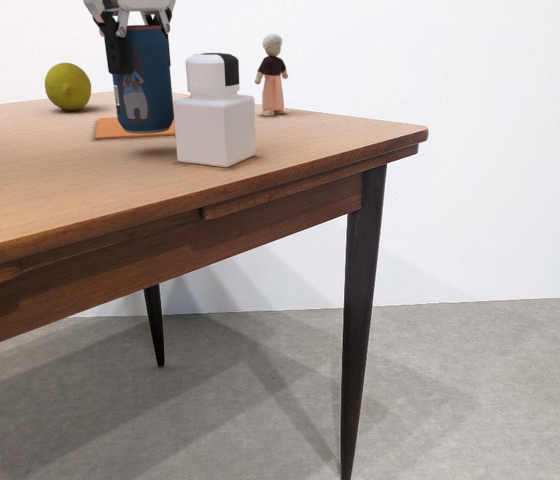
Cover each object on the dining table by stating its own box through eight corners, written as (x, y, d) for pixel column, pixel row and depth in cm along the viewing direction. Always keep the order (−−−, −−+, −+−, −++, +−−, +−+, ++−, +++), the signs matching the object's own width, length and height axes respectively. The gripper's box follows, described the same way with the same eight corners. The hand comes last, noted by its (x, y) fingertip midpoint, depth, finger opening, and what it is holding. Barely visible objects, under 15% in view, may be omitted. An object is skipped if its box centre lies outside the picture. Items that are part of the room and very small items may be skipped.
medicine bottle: (208, 150, 78) (202, 50, 73) (256, 155, 75) (254, 52, 70) (176, 162, 72) (167, 55, 67) (227, 168, 69) (222, 57, 64)
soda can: (166, 122, 80) (157, 24, 75) (182, 131, 75) (173, 25, 69) (114, 127, 78) (101, 25, 72) (125, 136, 72) (112, 27, 67)
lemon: (92, 113, 104) (85, 64, 101) (44, 115, 103) (36, 66, 99) (96, 104, 114) (90, 59, 110) (53, 106, 112) (46, 60, 109)
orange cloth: (95, 139, 85) (94, 137, 85) (98, 119, 99) (98, 118, 99) (249, 131, 89) (249, 129, 89) (231, 113, 103) (231, 111, 103)
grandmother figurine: (272, 117, 99) (271, 34, 94) (252, 116, 101) (250, 34, 95) (294, 111, 105) (294, 32, 100) (275, 109, 107) (274, 32, 101)
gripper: (141, -91, 74) (155, 63, 82) (37, -112, 60) (67, 77, 67) (194, -95, 71) (203, 64, 79) (99, -118, 57) (122, 80, 65)
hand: (140, 69), depth 73 cm, fingers closed on soda can, 7 cm apart
